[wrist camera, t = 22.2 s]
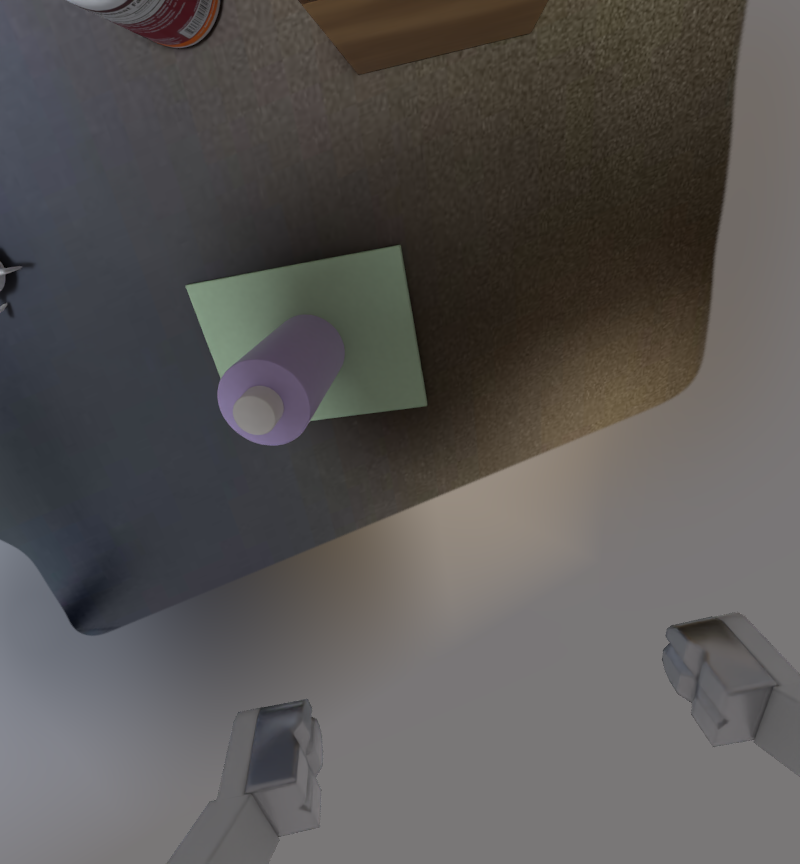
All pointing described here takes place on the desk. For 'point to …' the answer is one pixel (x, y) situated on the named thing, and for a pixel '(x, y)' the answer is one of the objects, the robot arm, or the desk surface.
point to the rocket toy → (0, 279)
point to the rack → (417, 27)
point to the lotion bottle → (282, 380)
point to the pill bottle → (159, 18)
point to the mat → (337, 304)
